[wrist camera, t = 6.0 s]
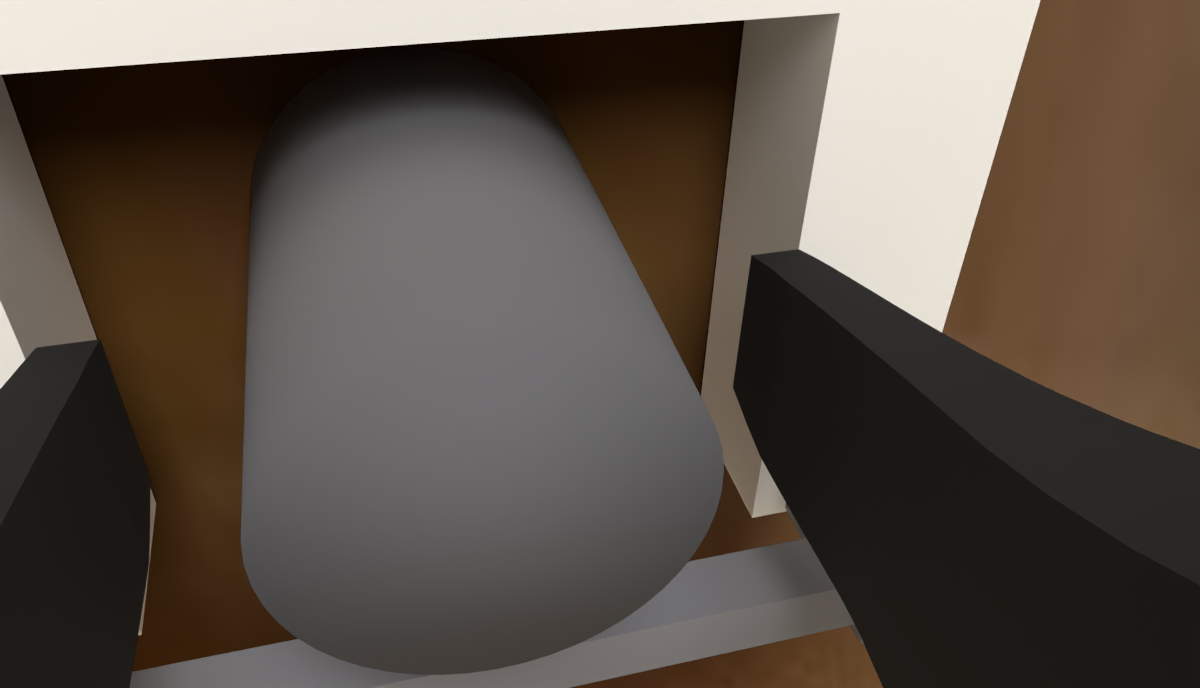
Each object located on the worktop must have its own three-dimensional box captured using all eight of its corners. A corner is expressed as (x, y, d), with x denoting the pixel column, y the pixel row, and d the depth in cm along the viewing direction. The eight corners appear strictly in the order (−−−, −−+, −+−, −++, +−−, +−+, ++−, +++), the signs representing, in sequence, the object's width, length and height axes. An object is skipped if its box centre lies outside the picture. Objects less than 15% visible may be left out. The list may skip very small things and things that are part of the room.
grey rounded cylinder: (569, 316, 16) (695, 631, 11) (275, 346, 14) (278, 709, 10) (584, 40, 13) (757, 305, 8) (223, 53, 12) (195, 366, 7)
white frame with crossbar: (1013, -452, 11) (1439, -458, 7) (828, 392, 18) (982, 620, 14) (-580, -517, 8) (-1437, -593, 4) (-20, 532, 15) (-117, 869, 11)
